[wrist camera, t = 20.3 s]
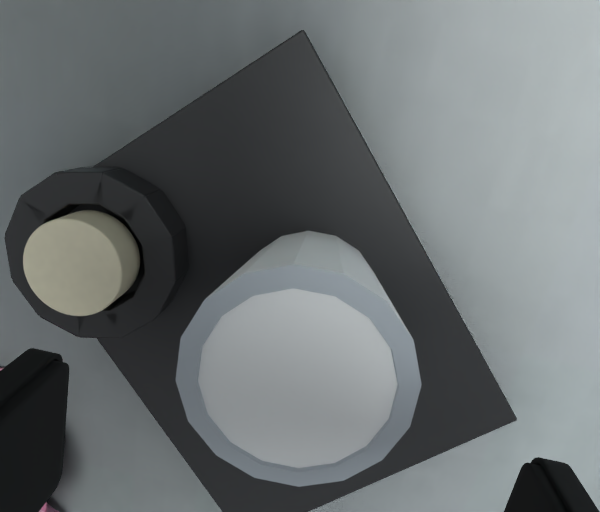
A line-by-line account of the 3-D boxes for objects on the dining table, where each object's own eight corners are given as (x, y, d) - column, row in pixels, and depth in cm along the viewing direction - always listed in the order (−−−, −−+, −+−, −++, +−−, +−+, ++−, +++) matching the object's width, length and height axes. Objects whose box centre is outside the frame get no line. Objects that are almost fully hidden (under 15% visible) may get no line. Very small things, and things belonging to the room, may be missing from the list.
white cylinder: (354, 396, 22) (361, 522, 15) (205, 338, 21) (144, 439, 15) (422, 253, 20) (467, 323, 13) (260, 188, 20) (219, 225, 13)
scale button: (31, 238, 19) (1, 250, 18) (104, 192, 19) (81, 199, 17) (86, 315, 20) (63, 333, 18) (158, 272, 19) (141, 287, 18)
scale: (20, 213, 22) (-29, 227, 19) (302, 28, 19) (295, 11, 16) (243, 523, 25) (230, 575, 22) (508, 404, 23) (533, 446, 20)
